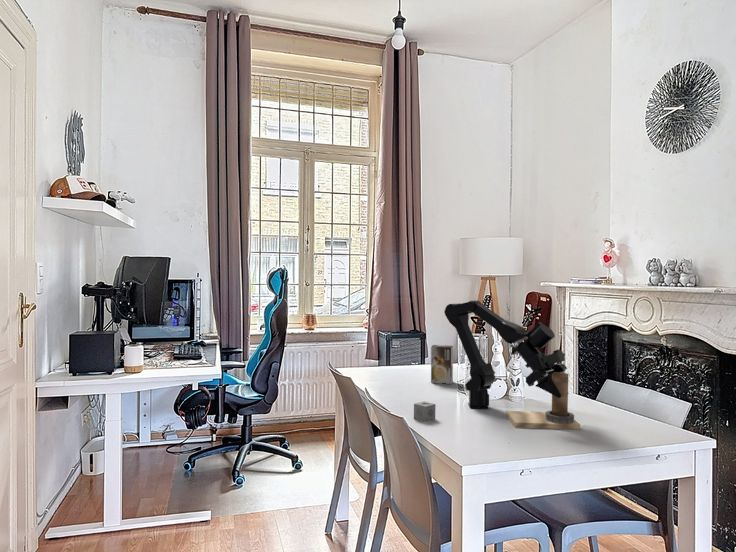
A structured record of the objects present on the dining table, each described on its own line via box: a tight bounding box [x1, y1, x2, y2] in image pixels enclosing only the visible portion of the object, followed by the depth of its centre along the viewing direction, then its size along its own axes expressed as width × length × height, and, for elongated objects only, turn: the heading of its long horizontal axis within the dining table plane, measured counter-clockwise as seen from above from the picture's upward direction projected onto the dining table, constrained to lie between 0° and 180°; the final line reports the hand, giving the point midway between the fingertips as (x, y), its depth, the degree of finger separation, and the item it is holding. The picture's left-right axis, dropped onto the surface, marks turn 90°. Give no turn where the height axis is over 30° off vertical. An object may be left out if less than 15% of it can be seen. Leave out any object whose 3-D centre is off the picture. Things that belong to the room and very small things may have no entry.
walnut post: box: [551, 372, 569, 417], centre depth 168 cm, size 5×5×14 cm
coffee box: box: [430, 344, 454, 385], centre depth 231 cm, size 9×6×16 cm
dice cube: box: [413, 401, 436, 423], centre depth 173 cm, size 5×5×5 cm
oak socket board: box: [505, 409, 581, 430], centre depth 171 cm, size 20×14×4 cm
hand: (563, 396), depth 167 cm, fingers closed on walnut post, 5 cm apart
